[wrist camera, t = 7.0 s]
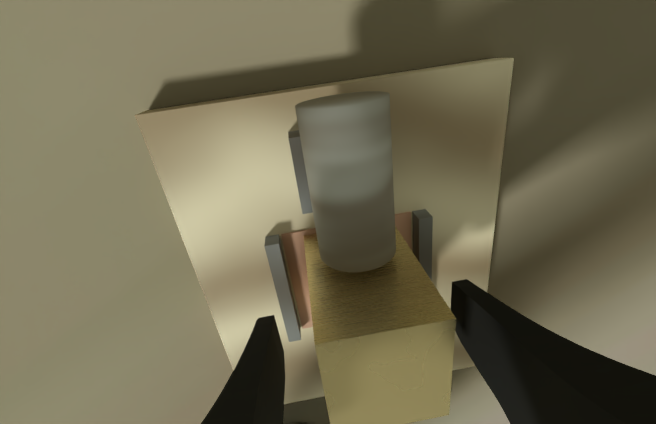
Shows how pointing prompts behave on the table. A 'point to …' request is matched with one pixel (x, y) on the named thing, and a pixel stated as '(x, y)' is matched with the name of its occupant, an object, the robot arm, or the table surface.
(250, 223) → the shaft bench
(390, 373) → the coupler
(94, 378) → the table surface
